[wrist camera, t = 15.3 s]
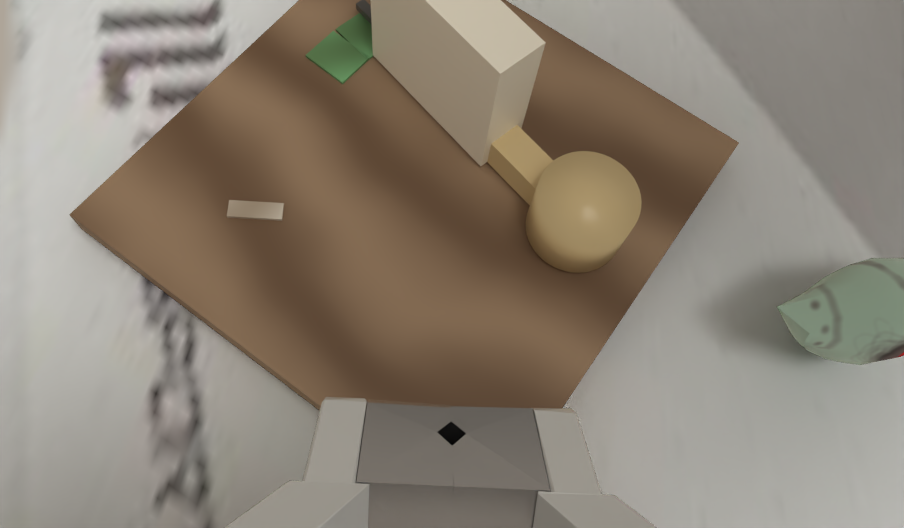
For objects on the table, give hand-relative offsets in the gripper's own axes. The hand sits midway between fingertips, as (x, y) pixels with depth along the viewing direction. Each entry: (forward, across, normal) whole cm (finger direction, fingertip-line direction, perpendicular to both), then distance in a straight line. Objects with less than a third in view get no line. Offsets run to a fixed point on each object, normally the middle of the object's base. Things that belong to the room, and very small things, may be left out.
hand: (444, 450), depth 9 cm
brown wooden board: (+27, 0, +5) cm, 28 cm away
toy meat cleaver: (+28, -2, +2) cm, 28 cm away
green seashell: (+23, -18, +10) cm, 31 cm away
